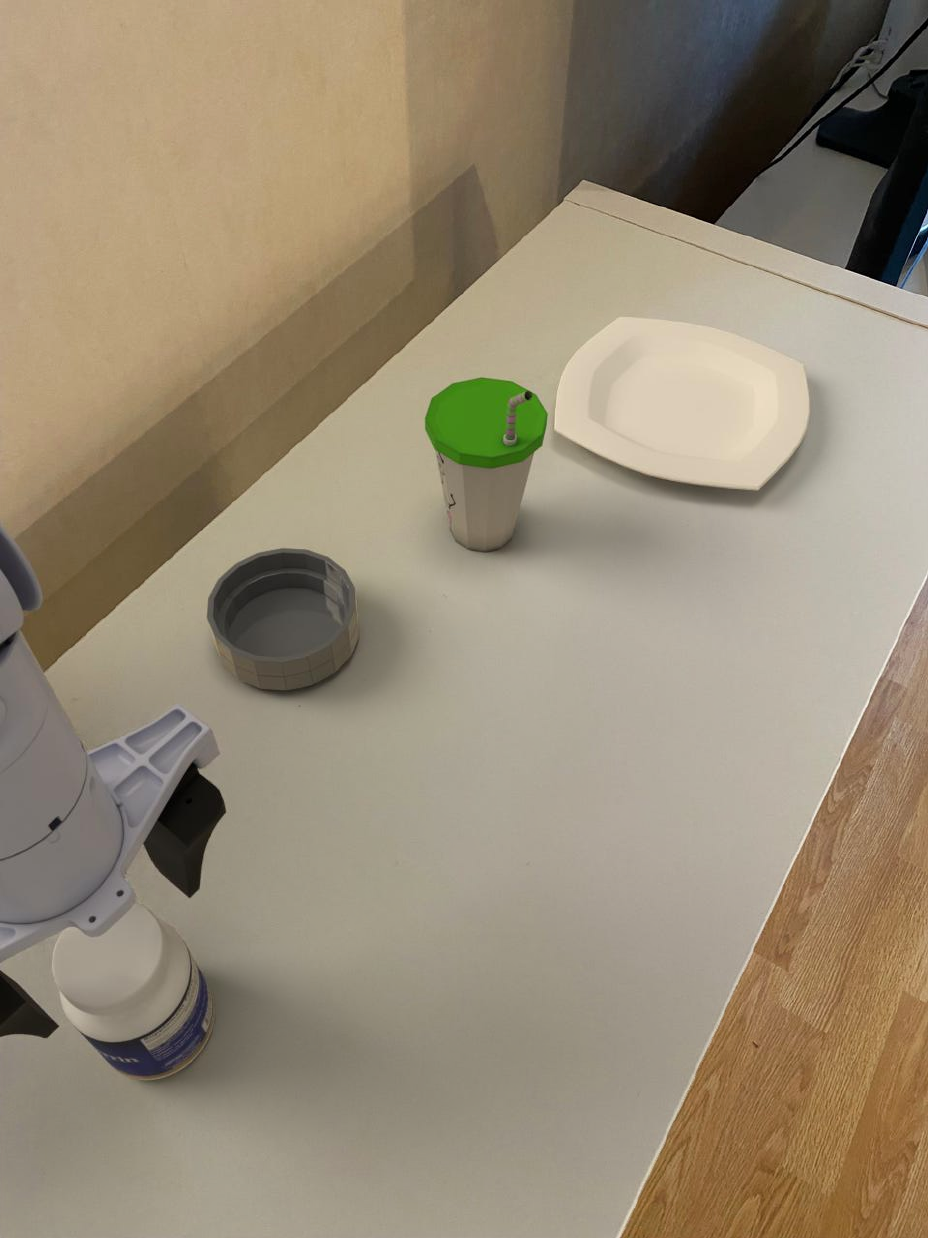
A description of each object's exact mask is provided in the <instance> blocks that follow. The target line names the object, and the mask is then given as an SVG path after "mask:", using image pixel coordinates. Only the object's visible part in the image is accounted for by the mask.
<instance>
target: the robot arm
mask: <svg viewBox="0 0 928 1238" xmlns="http://www.w3.org/2000/svg"><path fill="white" fill-rule="evenodd" d="M42 604H43V591H42V588H41V584H40V582H39V580H38V577H37V574H36V573H35V571H34V569H33V566H31V562H29V560H28V558H27V557H26V556H25V554H24V553H23V551H22V549H21V547H20V546H19V545H18V543H17V542H16V541H15V539H14V538H13V536H12V535H11V534H10V533H9V531H8V530H7V529H6V528H5V526H4V525H2V523H1V522H0V963H2V962H4V961H6V960H8V959H10V958H12V957H14V956H16V955H18V954H19V953H22V952H24V951H26V950H27V949H29V948H32V947H33V946H35V945H37V944H39V943H41V942H43V941H45V940H46V939H48V938H49V939H50V938H51V937H53V936H55V935H56V934H59V933H60V932H62V931H63V930H64V929H66V928H68V927H77V928H78V929H80V930H81V931H82V932H83V933H84V934H85V935H87V936H89V937H99V936H101V935H102V934H104V933H105V932H107V931H108V930H109V929H110V928H111V927H112V926H113V925H114V924H115V923H116V922H117V921H118V920H119V919H120V918H121V917H122V916H123V915H125V914H126V913H127V912H128V911H129V910H130V909H131V908H132V906H133V905H134V903H135V902H136V900H137V899H136V898H137V895H136V892H135V890H134V889H133V888H132V886H131V884H130V882H129V881H127V880H126V877H125V876H126V874H127V873H128V870H129V869H130V868H131V865H132V864H133V862H134V860H135V859H136V857H137V855H138V853H139V851H140V850H141V848H142V846H143V847H144V849H145V851H146V853H147V855H148V857H149V859H150V861H151V862H152V864H153V865H154V866H155V868H156V869H157V871H158V873H160V875H162V876H163V877H164V878H165V879H167V880H168V881H169V882H170V883H171V884H172V885H173V886H175V888H177V889H178V890H179V891H180V892H182V894H184V895H185V896H186V897H187V898H188V899H191V898H192V897H193V896H194V895H195V894H196V893H197V892H198V891H199V890H200V889H201V878H202V870H203V864H204V863H203V862H204V858H205V857H204V856H205V852H206V849H207V846H208V843H209V840H210V838H211V836H212V834H213V832H214V830H215V828H216V827H217V825H218V823H219V822H220V821H221V819H222V818H223V817H224V816H225V815H226V813H227V809H226V803H225V800H224V797H223V794H222V792H221V791H220V789H219V788H218V787H217V785H215V784H214V783H213V782H212V781H210V780H209V779H208V778H206V777H205V776H203V775H202V774H201V773H200V771H199V770H200V769H201V770H202V769H204V768H206V767H208V766H209V764H211V763H212V761H214V760H216V758H217V757H218V756H219V755H220V754H221V751H220V749H219V746H218V743H217V741H216V737H215V735H214V732H213V729H212V727H211V726H210V725H209V724H207V723H206V722H205V721H203V720H202V719H201V718H199V716H197V715H196V714H194V713H193V712H191V710H189V709H188V708H186V707H185V706H184V705H183V704H182V703H180V702H177V703H174V705H172V706H171V707H170V708H168V709H167V710H166V711H165V712H163V713H162V714H161V715H159V716H158V717H156V718H155V719H153V720H151V721H150V722H148V723H146V724H143V725H142V726H140V727H138V728H136V729H134V730H132V731H130V732H127V733H125V734H123V735H122V736H119V737H117V738H115V739H112V740H110V741H108V742H106V743H104V744H102V745H99V746H97V747H95V748H93V749H90V750H89V751H88V750H87V749H86V747H85V746H84V744H83V742H82V740H81V738H80V736H79V734H78V733H77V731H76V729H75V727H74V725H73V723H72V721H71V720H70V718H69V715H68V714H67V713H66V710H65V709H64V707H63V705H62V703H61V702H60V700H59V697H58V696H57V694H56V692H55V691H54V689H53V687H52V685H51V683H50V682H49V680H48V678H47V676H46V674H45V672H44V670H43V668H42V667H41V665H40V663H39V661H38V659H37V657H36V655H35V654H34V653H33V651H32V648H31V647H30V645H29V643H28V641H27V640H26V637H25V636H24V634H23V631H22V630H21V628H22V626H23V625H24V619H25V618H24V612H35V611H38V610H39V609H40V608H41V607H42V606H43V605H42ZM59 1027H60V1025H59V1024H58V1022H56V1021H55V1020H54V1019H53V1018H52V1017H51V1015H49V1014H48V1013H47V1012H46V1011H45V1010H44V1008H42V1007H41V1005H40V1004H39V1003H38V1002H37V1001H35V1000H34V998H33V997H32V996H31V995H30V994H29V993H28V992H27V991H26V990H25V989H24V988H23V987H22V986H21V985H20V983H18V982H17V981H16V980H15V979H13V978H12V977H11V976H9V975H8V974H6V973H5V972H3V970H1V969H0V1038H2V1037H7V1036H12V1035H24V1036H25V1035H26V1036H34V1037H39V1038H42V1039H48V1038H49V1037H50V1036H51V1035H53V1033H54V1032H55V1031H57V1029H59Z"/></svg>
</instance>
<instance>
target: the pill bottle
mask: <svg viewBox="0 0 928 1238" xmlns="http://www.w3.org/2000/svg"><path fill="white" fill-rule="evenodd" d="M51 958H52V959H51V971H52V976H53V980H54V983H55V985H56V987H57V988H58V990H59V998H60V1003H61V1007H62V1009H63V1012H64V1013H65V1015H66V1017H67V1020H69V1022H70V1023H71V1024H72V1026H73V1027H74V1028H75V1029H76V1031H78V1032H79V1034H80V1035H82V1036H83V1037H84V1038H85V1040H86V1041H87V1042H88V1043H89V1044H90V1045H91V1046H92V1047H93V1048H94V1049H95V1050H96V1051H97V1053H99V1054H100V1055H101V1057H102V1058H103V1059H104V1060H105V1061H106V1062H107V1063H108V1064H109V1065H110V1066H111V1067H112V1068H113V1069H114V1070H115V1071H116V1072H118V1073H120V1074H121V1075H123V1076H126V1077H128V1078H130V1079H133V1080H140V1081H155V1080H161V1079H164V1078H168V1077H169V1076H172V1075H173V1074H176V1073H178V1072H180V1071H181V1070H183V1069H184V1068H186V1067H187V1066H188V1065H190V1064H191V1063H192V1062H193V1061H194V1060H195V1059H196V1058H197V1057H198V1056H199V1055H200V1053H201V1052H202V1050H204V1047H205V1046H206V1044H207V1042H208V1040H209V1039H210V1036H211V1033H212V1031H213V1028H214V1024H215V1015H216V1006H215V999H214V995H213V992H212V990H211V987H210V985H209V983H208V982H207V979H206V977H205V976H204V974H203V972H202V971H201V969H200V967H199V966H198V964H197V962H196V960H195V958H194V957H193V955H192V952H191V951H190V949H189V947H188V945H187V943H186V942H185V940H184V938H183V937H182V935H180V933H179V932H178V931H177V930H176V929H175V928H174V927H173V926H172V925H171V924H169V923H168V922H167V921H165V920H163V919H161V918H159V917H157V916H156V914H154V913H153V911H151V910H150V909H149V907H146V906H145V905H143V904H141V903H139V902H136V901H135V903H134V905H133V906H132V908H131V909H130V910H129V911H128V912H127V913H126V914H125V915H123V916H122V917H121V918H120V919H119V920H118V921H117V922H116V923H115V924H114V925H113V926H112V927H111V928H110V929H109V930H108V931H107V932H105V933H104V934H102V935H101V936H99V937H89V936H87V935H85V934H84V933H83V932H82V931H81V930H80V929H78V928H77V927H68V928H66V929H64V930H62V931H61V933H60V934H59V936H58V938H57V939H56V942H55V946H54V949H53V952H52V957H51Z"/></svg>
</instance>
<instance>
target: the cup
mask: <svg viewBox="0 0 928 1238" xmlns="http://www.w3.org/2000/svg"><path fill="white" fill-rule="evenodd" d="M548 415H549V414H548V412H547V410H546V408H545V407H544V405H543V404H542V401H541V400H540V399H539V397H538V395H537V394H536V393H534V392H532V391H530V390H529V389H527V388H525V387H523V386H521V385H520V384H518V383H516V382H515V381H511V380H507V379H497V378H491V377H490V378H489V377H482V376H481V377H476V378H472V379H467V380H461V381H458V382H453V383H451V384H449V385H448V386H447V387H445V388H444V389H443V390H441V391H440V392H438V393H437V394H435V395H434V396H432V397H431V399H430V402H429V404H428V407H427V411H426V414H425V416H424V430H425V432H426V434H427V436H428V438H429V440H430V442H431V444H432V447H433V448H434V451H435V457H436V461H437V468H438V472H439V479H440V482H441V483H440V484H441V489H442V493H443V498H444V505H445V510H446V514H447V520H448V524H449V530H450V532H451V534H452V537H453V539H454V541H455V542H456V543H458V544H459V545H461V546H462V547H464V548H465V549H467V550H469V551H475V552H481V553H487V552H492V551H495V550H501V549H502V548H503V547H504V546H505V545H507V544H508V543H509V542H511V540H512V539H513V536H514V531H515V529H516V524H517V520H518V516H519V513H520V509H521V505H522V501H523V497H524V494H525V491H526V490H525V489H526V486H527V483H528V479H529V474H530V470H531V467H532V463H533V458H534V455H535V452H536V451H538V450H539V449H540V448H542V447H543V443H544V440H545V435H546V431H547V426H548Z"/></svg>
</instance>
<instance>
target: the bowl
mask: <svg viewBox="0 0 928 1238" xmlns="http://www.w3.org/2000/svg"><path fill="white" fill-rule="evenodd" d="M206 607H207V610H206V620H207V624H208V628H209V630H210V631H209V632H210V634H211V638H212V641H213V644H214V647H215V651H216V652H217V654H218V657H219V659H220V662H221V664H222V665H223V667H224V668H225V669H226V670H227V671H228V672H230V673H231V674H232V675H233V676H234V677H235V678H236V679H237V680H238V681H241V682H243V683H246V684H248V685H251V686H253V687H255V688H258V689H262V690H272V691H273V690H274V691H292V690H296V689H297V690H298V689H301V688H306V687H309V686H313V685H315V684H317V683H319V682H321V681H323V680H324V679H326V678H328V677H330V676H332V675H334V674H335V673H337V672H338V670H340V669H341V667H343V665H344V664H345V663H346V662H347V661H348V660H349V659H350V658H351V657H352V655H353V652H354V650H355V647H356V645H357V642H358V640H359V637H360V625H359V622H360V621H359V612H358V611H359V610H358V602H357V595H356V587H355V585H354V583H353V581H352V580H351V577H350V576H349V574H348V572H347V571H346V570H345V568H343V567H342V566H341V565H339V564H338V563H337V562H336V561H334V560H333V559H332V558H330V557H329V556H328V555H327V556H326V555H324V554H321V553H318V552H316V551H313V550H309V549H305V548H304V549H303V548H291V547H290V548H288V547H281V548H275V549H270V550H264V551H259V552H257V553H254V554H252V555H250V556H248V557H246V558H244V559H242V560H240V561H237V562H236V563H234V564H233V565H232V566H231V567H230V568H229V569H228V570H226V572H224V573H223V574H222V575H221V576H220V577H219V578H218V579H217V581H216V583H215V584H214V587H213V588H212V590H211V592H210V594H209V595H208V598H207V606H206Z"/></svg>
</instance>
